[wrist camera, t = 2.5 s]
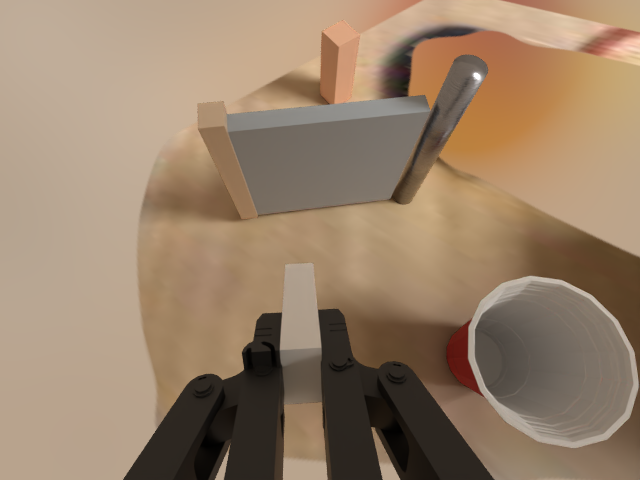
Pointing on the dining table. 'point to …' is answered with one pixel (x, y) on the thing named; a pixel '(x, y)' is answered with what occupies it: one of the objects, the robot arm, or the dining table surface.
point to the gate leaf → (312, 152)
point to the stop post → (338, 62)
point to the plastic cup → (548, 361)
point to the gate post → (441, 123)
